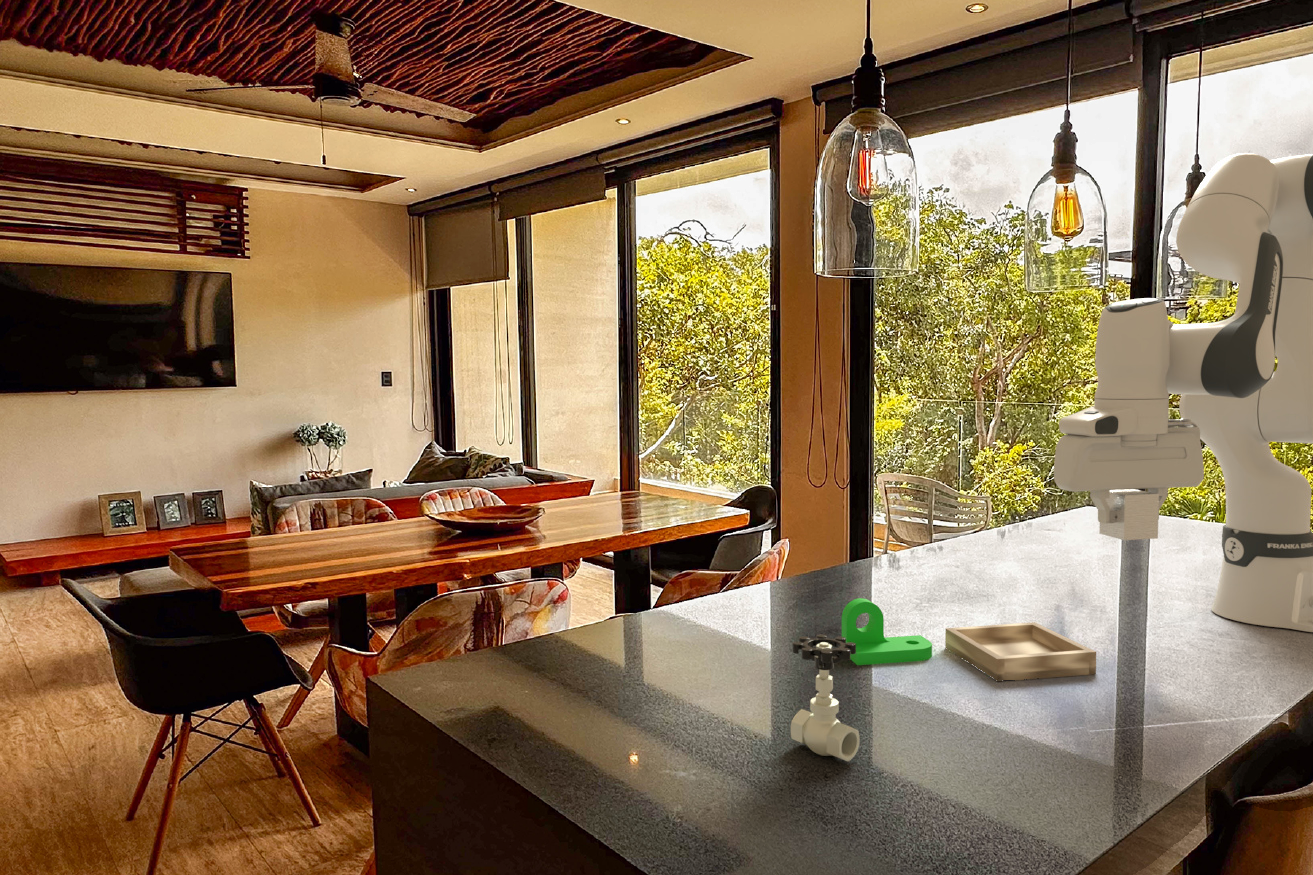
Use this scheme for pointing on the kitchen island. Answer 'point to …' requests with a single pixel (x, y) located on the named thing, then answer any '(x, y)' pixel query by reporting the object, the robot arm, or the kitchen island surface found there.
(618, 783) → the kitchen island surface
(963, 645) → the tray
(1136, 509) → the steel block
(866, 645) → the mechanical part
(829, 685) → the valve
